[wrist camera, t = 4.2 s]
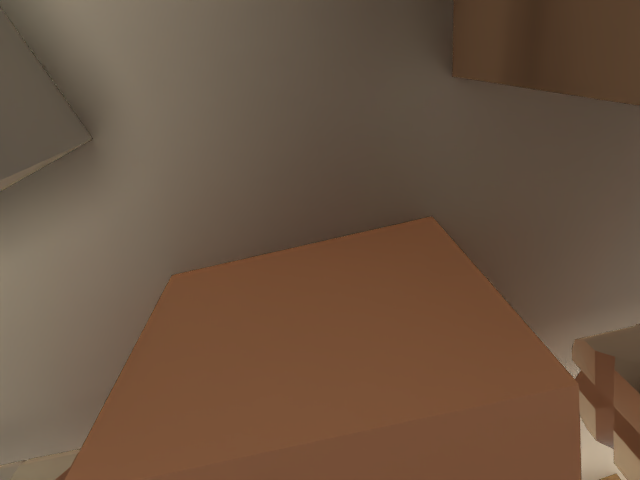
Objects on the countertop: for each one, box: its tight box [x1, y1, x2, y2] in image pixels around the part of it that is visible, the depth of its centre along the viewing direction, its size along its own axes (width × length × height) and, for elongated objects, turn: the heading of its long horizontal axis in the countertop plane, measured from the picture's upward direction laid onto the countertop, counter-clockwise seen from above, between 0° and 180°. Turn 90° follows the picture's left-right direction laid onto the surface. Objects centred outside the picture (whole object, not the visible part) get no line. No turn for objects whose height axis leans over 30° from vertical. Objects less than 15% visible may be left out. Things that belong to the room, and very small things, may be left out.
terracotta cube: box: [65, 216, 581, 480], centre depth 8 cm, size 5×5×5 cm
